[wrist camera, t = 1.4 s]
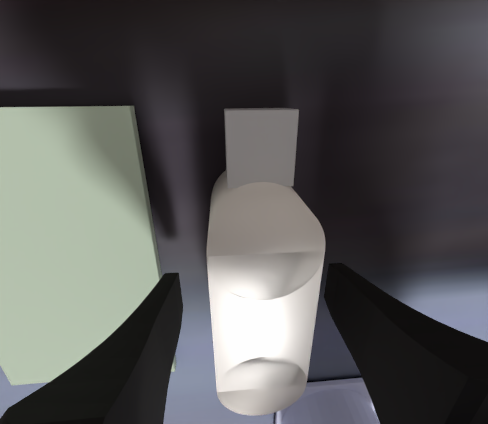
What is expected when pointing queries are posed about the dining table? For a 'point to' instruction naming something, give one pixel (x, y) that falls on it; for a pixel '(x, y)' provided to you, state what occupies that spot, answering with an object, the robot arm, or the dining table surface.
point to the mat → (70, 234)
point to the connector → (262, 265)
